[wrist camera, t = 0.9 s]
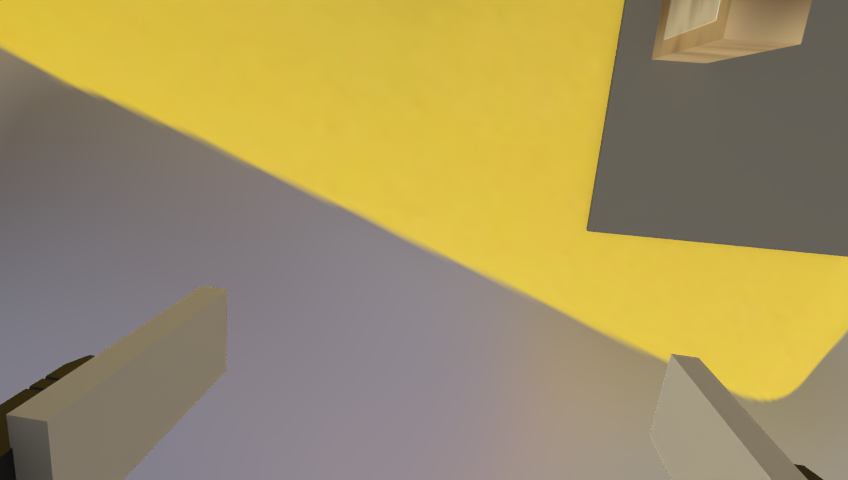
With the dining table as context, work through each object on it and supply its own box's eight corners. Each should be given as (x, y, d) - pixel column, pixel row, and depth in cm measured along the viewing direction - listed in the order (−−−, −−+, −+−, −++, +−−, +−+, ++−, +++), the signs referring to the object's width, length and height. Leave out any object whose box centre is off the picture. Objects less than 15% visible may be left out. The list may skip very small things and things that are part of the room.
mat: (640, -94, 32) (642, -97, 31) (946, -79, 30) (952, -81, 30) (586, 229, 37) (587, 231, 37) (844, 255, 36) (848, 256, 35)
